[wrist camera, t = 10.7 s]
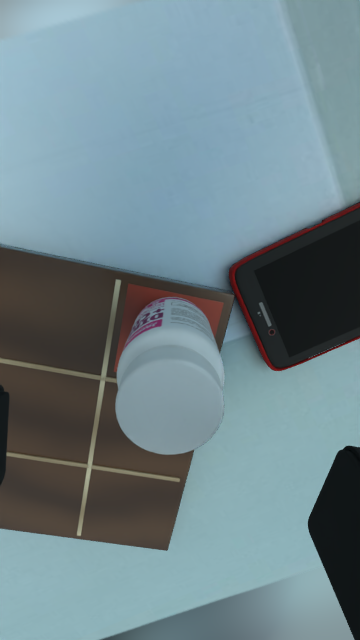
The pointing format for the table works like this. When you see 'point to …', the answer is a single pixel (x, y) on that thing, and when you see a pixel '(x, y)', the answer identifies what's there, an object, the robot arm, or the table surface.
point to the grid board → (83, 401)
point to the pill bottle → (170, 379)
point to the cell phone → (303, 291)
